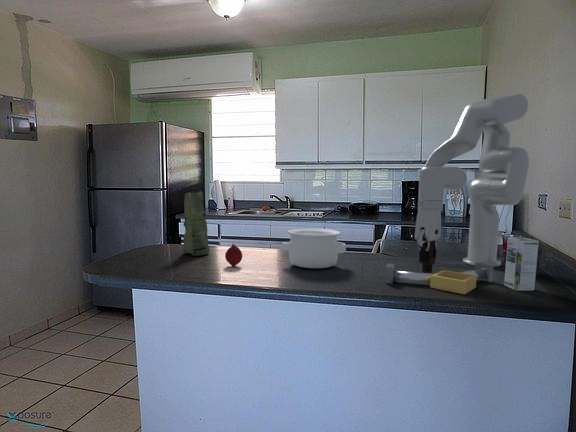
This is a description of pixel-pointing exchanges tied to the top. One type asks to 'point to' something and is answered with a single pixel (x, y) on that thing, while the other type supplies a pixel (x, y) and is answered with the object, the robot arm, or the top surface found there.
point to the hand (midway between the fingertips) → (427, 260)
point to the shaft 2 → (482, 272)
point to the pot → (313, 247)
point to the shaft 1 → (406, 276)
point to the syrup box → (521, 263)
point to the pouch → (195, 225)
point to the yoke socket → (453, 281)
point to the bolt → (428, 266)
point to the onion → (233, 255)
